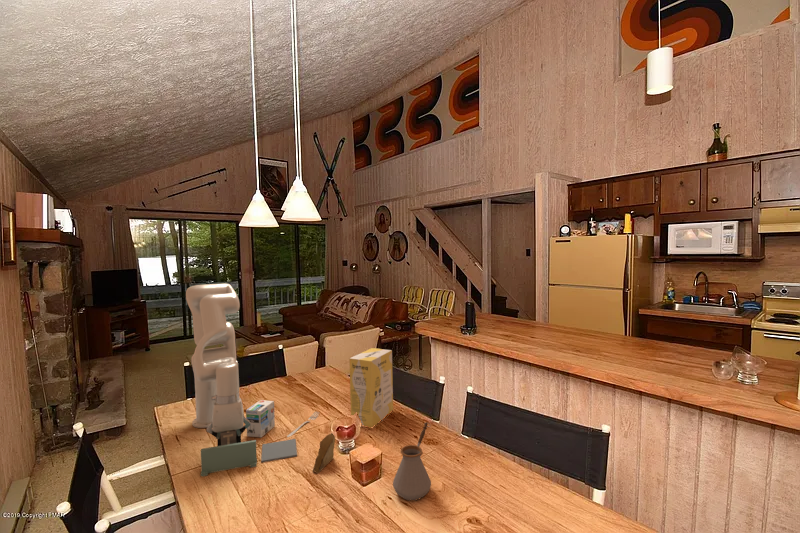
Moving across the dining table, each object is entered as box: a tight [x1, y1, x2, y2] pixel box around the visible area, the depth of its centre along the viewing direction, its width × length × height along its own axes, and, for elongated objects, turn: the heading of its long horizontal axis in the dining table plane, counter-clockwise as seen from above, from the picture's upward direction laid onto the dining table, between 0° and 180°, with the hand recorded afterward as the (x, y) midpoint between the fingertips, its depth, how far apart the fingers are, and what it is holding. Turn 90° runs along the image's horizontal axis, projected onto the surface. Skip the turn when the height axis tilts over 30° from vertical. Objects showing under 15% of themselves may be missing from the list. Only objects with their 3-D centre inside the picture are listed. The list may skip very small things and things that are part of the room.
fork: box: [286, 411, 320, 438], centre depth 157 cm, size 3×24×2 cm, turn 160°
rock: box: [312, 433, 336, 473], centre depth 129 cm, size 11×9×10 cm
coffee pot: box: [392, 421, 432, 501], centre depth 117 cm, size 21×12×15 cm, turn 158°
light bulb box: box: [245, 399, 276, 438], centre depth 153 cm, size 11×7×11 cm, turn 168°
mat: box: [260, 438, 298, 463], centre depth 138 cm, size 12×12×1 cm
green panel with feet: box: [200, 439, 258, 477], centre depth 127 cm, size 4×17×8 cm, turn 108°
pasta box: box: [348, 347, 394, 427], centre depth 163 cm, size 18×10×28 cm, turn 153°
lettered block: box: [220, 430, 237, 446], centre depth 136 cm, size 6×5×8 cm
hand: (229, 446), depth 137 cm, fingers closed on lettered block, 5 cm apart
